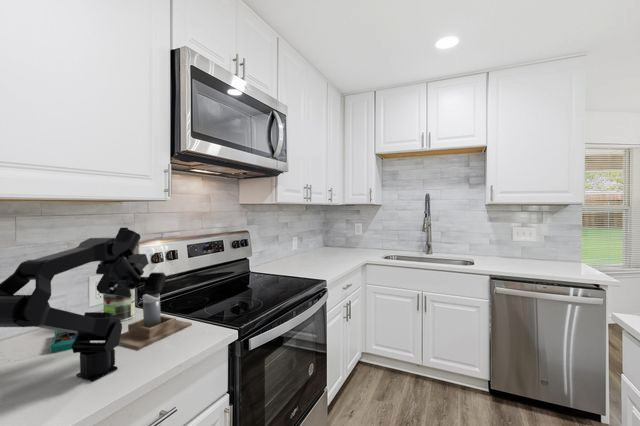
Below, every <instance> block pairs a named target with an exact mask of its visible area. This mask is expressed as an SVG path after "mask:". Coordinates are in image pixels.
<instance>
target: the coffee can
mask: <svg viewBox="0 0 640 426" xmlns="http://www.w3.org/2000/svg"><path fill="white" fill-rule="evenodd" d="M135 289H136V287H135V288H134V289H128V290H129V291H130V293H131V297H130V298H128V297H122V296H116V295H109V294H105V293H102V294H103V296H102V298H103V302H102V303H103V312H108V313H110V314H112V315H118V316H117V318H119V319H120V320H121V321H120V322H121V323H122V322H126V321H129V320H131V319H133V318H135V317H136V295H135V294H136V292H135V291H136V290H135ZM134 316H135V317H134Z"/></svg>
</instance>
